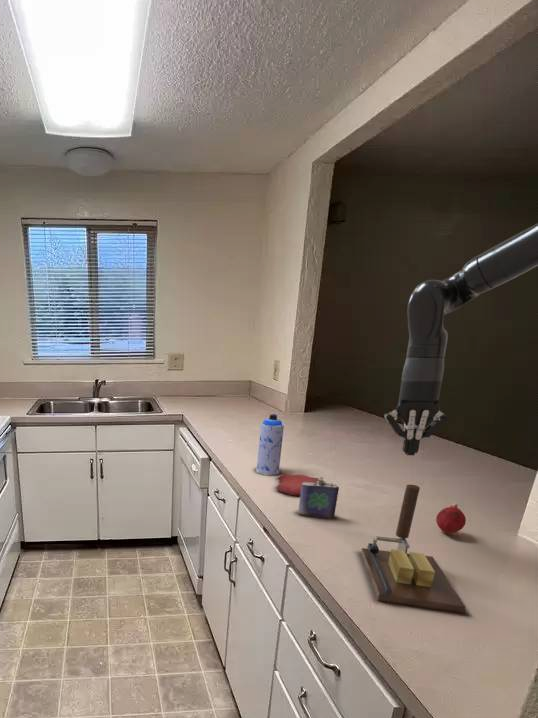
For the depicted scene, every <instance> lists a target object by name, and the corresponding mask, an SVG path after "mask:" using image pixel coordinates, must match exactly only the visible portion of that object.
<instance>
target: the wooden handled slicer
mask: <svg viewBox="0 0 538 718" xmlns="http://www.w3.org/2000/svg"><path fill="white" fill-rule="evenodd" d="M420 489H421V487H420V486H419V485H416V484H406V487H405V490H404V494H403V499H402V504H401V508H400V512H399V517H398V522H397V526H396V530H395V536H396V537H398V538H395V537H387V536H380V535H379V536H377V535H376V536H375V538H372V543H371V542H369V543H368V544H367V548H369V551H370V552H372V553H378V552H379V550H380V549H379V546H378V544H377V543H378V541H381V542H387V543H388V542H390V543H397V549H396V550H397V551H405V553H406V554H408V550H409V549H410V547H411V546H410V544H409V542H408V540H407V539H408V538H409V536H410V532H411V528H412V525H413V524H412V523H413V518H414V515H415V511H416V507H417V502H418V497H419V494H420Z"/></svg>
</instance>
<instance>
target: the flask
mask: <svg viewBox="0 0 538 718" xmlns="http://www.w3.org/2000/svg"><path fill="white" fill-rule="evenodd" d="M323 479H324V477H323V476H320V477H318V481H317V483H303V484H302V488H301V496H299V502H298V503H299V504H298V511H297V513H298V515H302V516H304V517H307V516H309V517H317V518H318V517H320V518H328V519H333V518H335V514H336V509H337V501H338V495H339V490H340V488H339V486H338V485H337V484H335V483H332V482H326V481H325V480H323Z"/></svg>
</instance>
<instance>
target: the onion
mask: <svg viewBox="0 0 538 718" xmlns="http://www.w3.org/2000/svg"><path fill="white" fill-rule="evenodd" d="M458 506H459V505H458V504H457V503H452V504H451V506H447V507H445V508H443V509H441V510H440V511H439V512H438V513H437V515H436V517H435V522H436V524H437V526H438V528H439V529H440V530H441V531H442V532H443V533H444V534H446V535H450V534H454V533H457V532H461V530H462V529H464V527H465V525H466V522H467V518H466V516H465V513H464V512H463V511H462V510H461V509H460V508H459V507H458Z"/></svg>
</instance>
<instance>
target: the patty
mask: <svg viewBox="0 0 538 718" xmlns="http://www.w3.org/2000/svg"><path fill="white" fill-rule="evenodd" d="M318 479H319V477H314V476H309V475H305V474H291V473H283V474H279V475H278V480H279V481H278V483H279V484H277V486H276V489H277V491H278V492H280V493H282V494H284V495H287V496H295V497H300V496H301V488H302V484H303V483H317V481H318Z"/></svg>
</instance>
